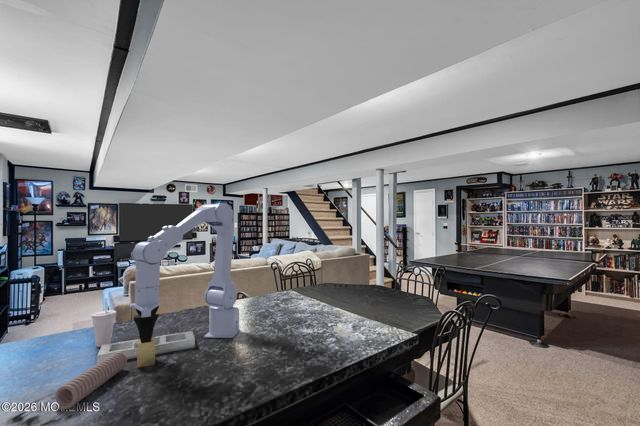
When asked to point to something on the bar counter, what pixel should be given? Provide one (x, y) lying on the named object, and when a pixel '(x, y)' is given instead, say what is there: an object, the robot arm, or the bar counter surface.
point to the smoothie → (103, 325)
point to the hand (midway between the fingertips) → (146, 337)
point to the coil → (89, 380)
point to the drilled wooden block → (146, 352)
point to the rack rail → (164, 345)
